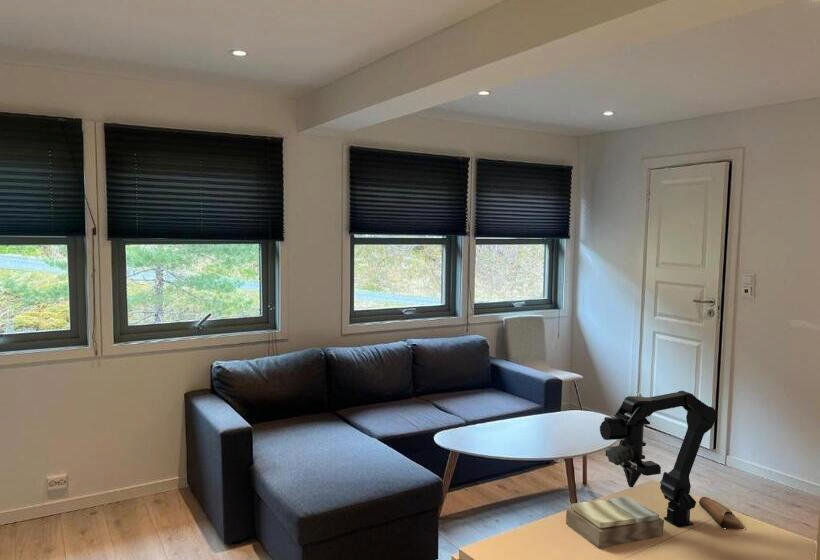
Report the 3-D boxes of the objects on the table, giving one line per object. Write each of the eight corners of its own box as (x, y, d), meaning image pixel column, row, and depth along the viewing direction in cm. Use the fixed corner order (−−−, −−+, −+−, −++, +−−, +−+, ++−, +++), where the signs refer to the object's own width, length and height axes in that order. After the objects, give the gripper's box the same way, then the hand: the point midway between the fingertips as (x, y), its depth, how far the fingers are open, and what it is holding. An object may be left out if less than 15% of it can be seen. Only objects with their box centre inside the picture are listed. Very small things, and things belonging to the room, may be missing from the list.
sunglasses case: (748, 530, 187) (738, 511, 187) (728, 540, 187) (717, 521, 187) (723, 506, 205) (714, 489, 205) (705, 515, 205) (695, 498, 205)
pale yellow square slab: (604, 504, 192) (605, 499, 192) (635, 523, 179) (635, 518, 179) (571, 508, 187) (571, 503, 187) (600, 528, 174) (600, 523, 174)
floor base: (626, 514, 197) (627, 494, 196) (663, 536, 182) (664, 515, 181) (565, 524, 188) (566, 504, 188) (598, 548, 173) (599, 527, 173)
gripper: (592, 431, 192) (590, 478, 192) (633, 450, 174) (631, 502, 175) (620, 428, 195) (618, 475, 196) (663, 446, 178) (660, 497, 179)
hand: (630, 486), depth 186 cm, fingers closed
